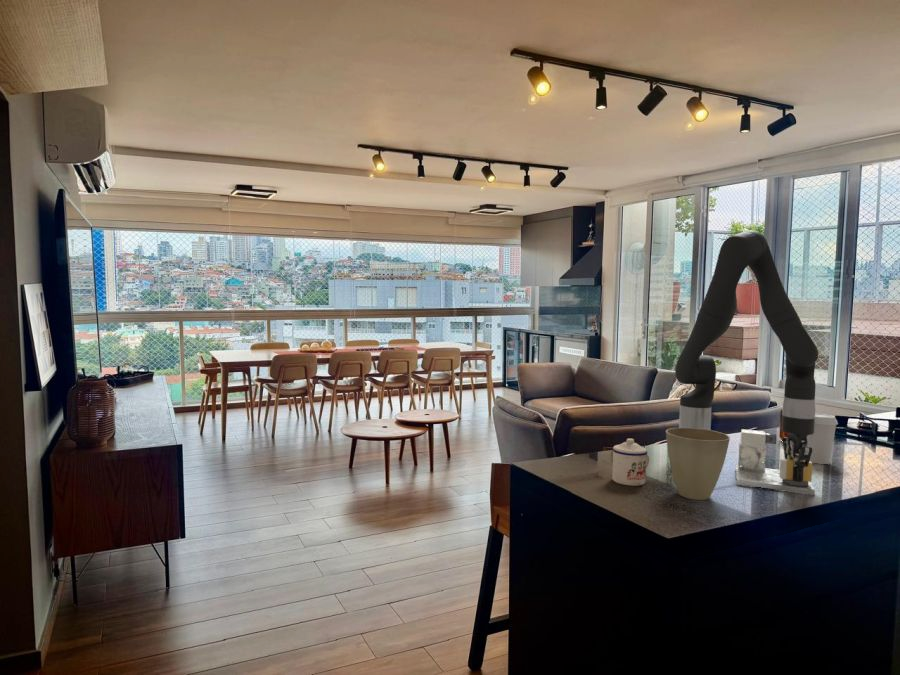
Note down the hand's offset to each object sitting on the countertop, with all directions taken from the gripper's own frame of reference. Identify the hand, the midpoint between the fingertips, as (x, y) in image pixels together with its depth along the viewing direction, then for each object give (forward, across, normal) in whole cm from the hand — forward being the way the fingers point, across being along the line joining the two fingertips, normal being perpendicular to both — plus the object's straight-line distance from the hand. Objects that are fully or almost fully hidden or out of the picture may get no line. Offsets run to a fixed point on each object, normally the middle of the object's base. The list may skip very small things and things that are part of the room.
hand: (794, 478), depth 157 cm
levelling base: (+3, +6, +3) cm, 7 cm away
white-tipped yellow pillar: (+1, 0, 0) cm, 1 cm away
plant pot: (+3, -13, +28) cm, 31 cm away
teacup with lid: (+3, -3, +42) cm, 42 cm away
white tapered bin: (+3, +34, -20) cm, 39 cm away
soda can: (+3, +64, -22) cm, 68 cm away
